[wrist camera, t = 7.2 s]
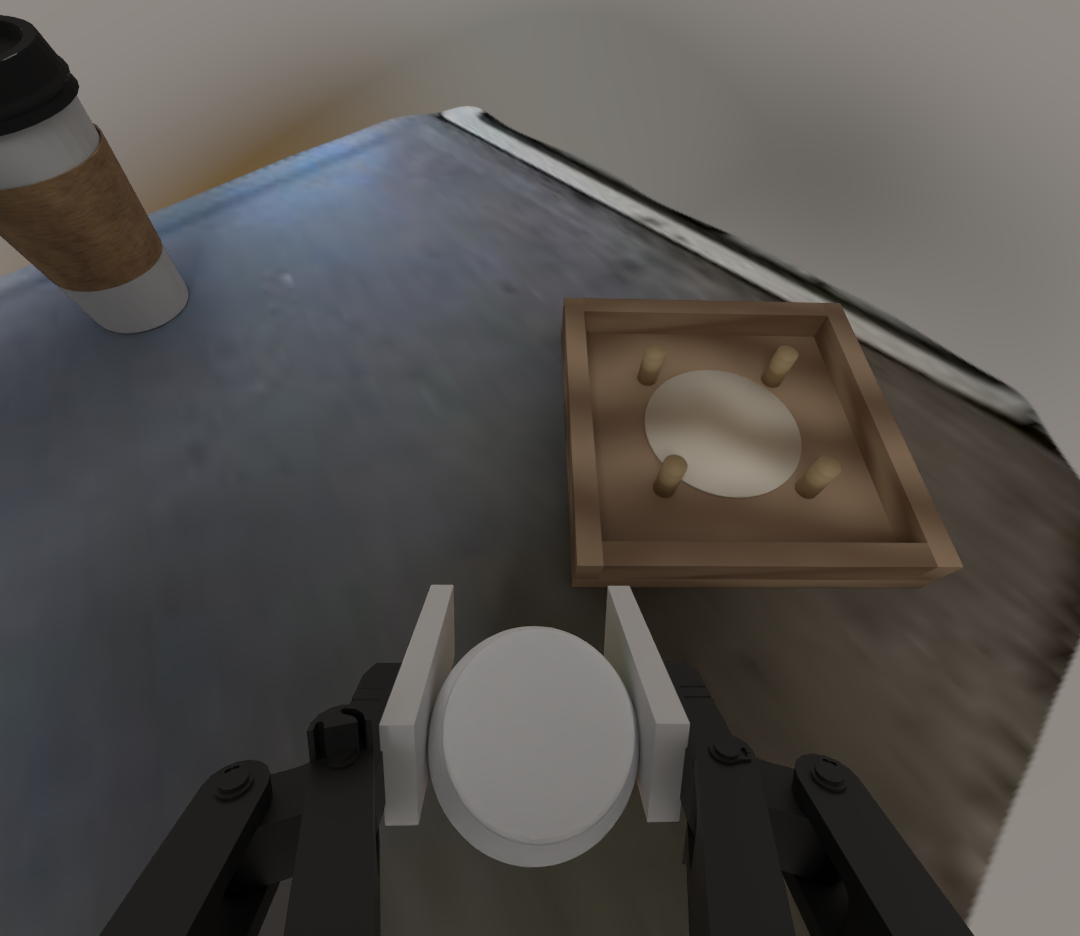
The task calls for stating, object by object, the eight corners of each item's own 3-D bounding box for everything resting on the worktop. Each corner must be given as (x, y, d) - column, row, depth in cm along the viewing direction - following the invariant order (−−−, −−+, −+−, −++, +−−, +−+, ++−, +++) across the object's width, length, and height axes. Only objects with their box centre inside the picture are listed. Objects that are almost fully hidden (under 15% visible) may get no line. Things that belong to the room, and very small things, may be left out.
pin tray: (920, 587, 26) (973, 562, 23) (571, 587, 25) (578, 561, 22) (817, 337, 35) (845, 295, 32) (561, 333, 35) (565, 290, 32)
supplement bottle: (624, 714, 19) (708, 671, 11) (558, 872, 17) (603, 971, 8) (502, 643, 20) (495, 554, 12) (424, 780, 18) (347, 786, 10)
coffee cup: (53, 304, 35) (-218, 30, 22) (172, 250, 38) (-3, -15, 26) (109, 368, 32) (-165, 96, 19) (231, 303, 35) (68, 35, 23)
